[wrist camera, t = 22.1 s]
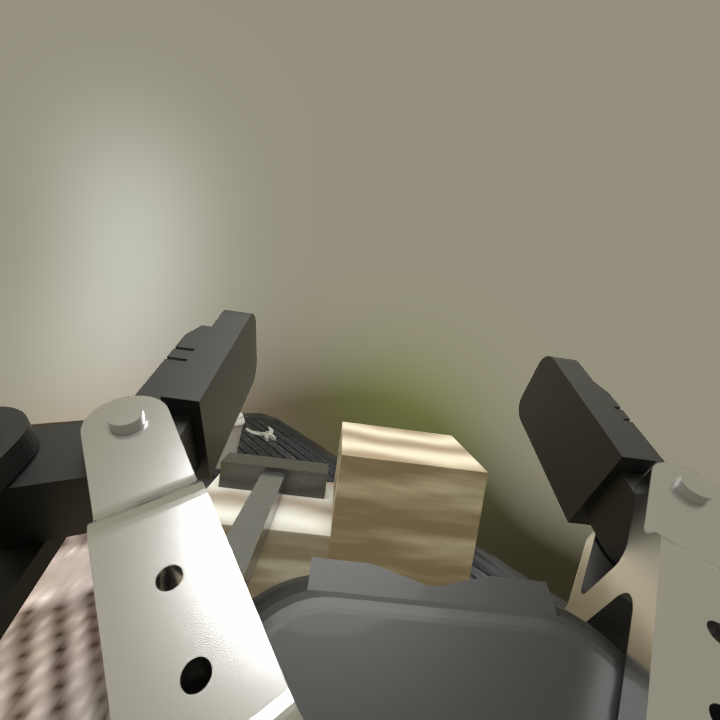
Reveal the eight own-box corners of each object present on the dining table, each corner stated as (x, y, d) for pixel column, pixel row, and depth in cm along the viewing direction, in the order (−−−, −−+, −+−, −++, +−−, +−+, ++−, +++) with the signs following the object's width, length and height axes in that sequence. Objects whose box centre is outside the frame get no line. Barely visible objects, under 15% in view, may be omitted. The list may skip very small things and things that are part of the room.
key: (310, 615, 25) (316, 573, 25) (130, 597, 24) (134, 554, 24) (325, 487, 45) (328, 464, 45) (226, 476, 44) (229, 452, 44)
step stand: (435, 774, 37) (487, 472, 35) (156, 752, 36) (189, 436, 33) (413, 666, 49) (451, 435, 47) (203, 646, 48) (230, 407, 45)
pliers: (270, 424, 147) (284, 436, 134) (269, 428, 147) (284, 440, 135) (245, 425, 141) (258, 438, 129) (244, 429, 141) (257, 442, 129)
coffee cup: (243, 470, 104) (249, 418, 102) (207, 472, 99) (213, 418, 97) (235, 457, 112) (241, 409, 111) (201, 459, 107) (207, 409, 105)
